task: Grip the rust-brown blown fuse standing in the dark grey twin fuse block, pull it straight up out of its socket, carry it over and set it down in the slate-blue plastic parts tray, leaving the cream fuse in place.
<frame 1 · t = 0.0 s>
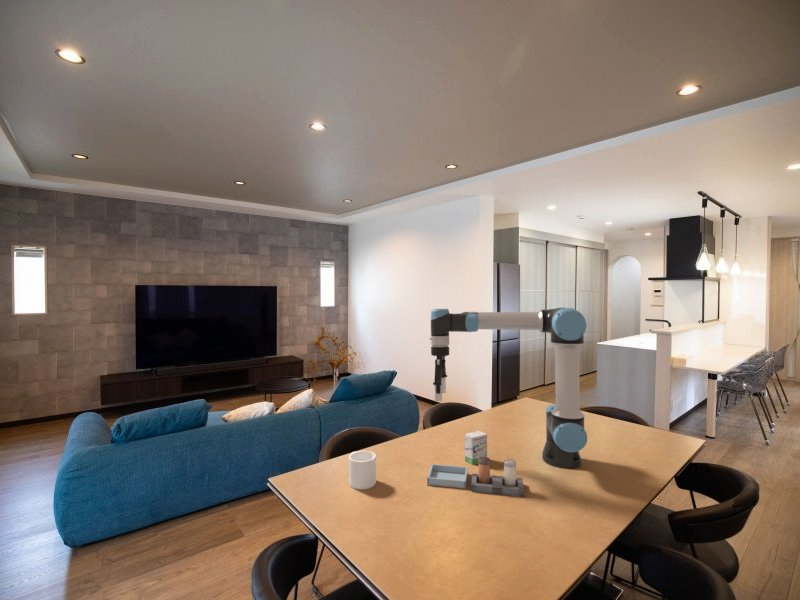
hand: (440, 396, 159), 28 cm above the table, fingers open, 13 cm apart
blown fuse: (484, 486, 139), resting on fuse block
mug: (360, 482, 144), on the table
parts tray: (448, 480, 145), on the table
ink box: (476, 462, 161), on the table
fuse block: (497, 488, 138), on the table
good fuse: (510, 489, 137), resting on fuse block
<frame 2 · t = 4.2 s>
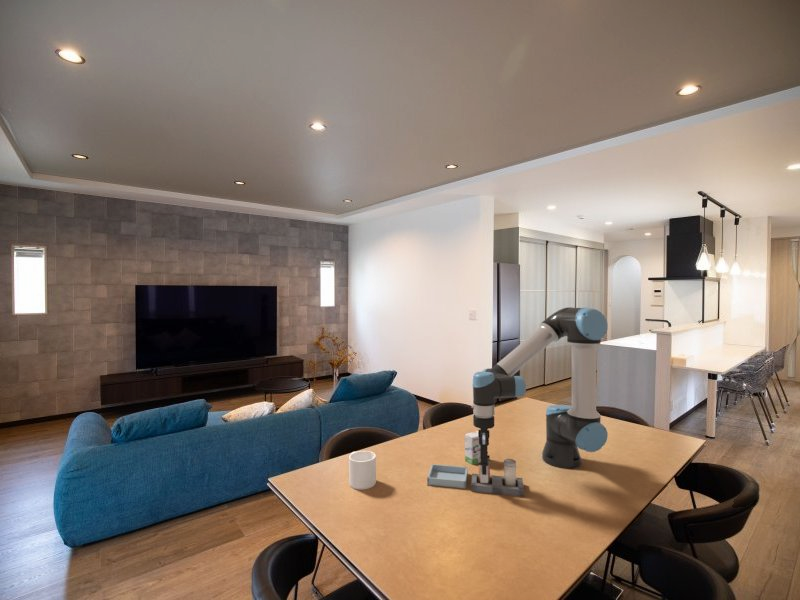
hand: (484, 479, 139), 3 cm above the table, fingers closed on blown fuse, 4 cm apart
blown fuse: (484, 486, 139), resting on fuse block, touching gripper
everything else where it was.
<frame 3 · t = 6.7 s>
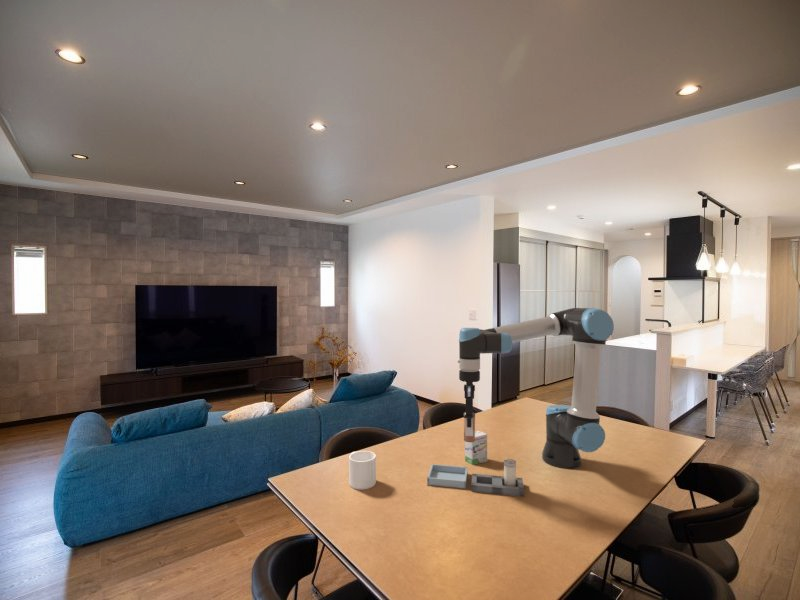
hand: (469, 433, 141), 19 cm above the table, fingers closed on blown fuse, 4 cm apart
blown fuse: (469, 440, 141), point 17 cm above the table, touching gripper
everything else where it was.
when the fingers open (5 cm above the table, at t = 9.6 s): blown fuse drops 1 cm, resting on parts tray.
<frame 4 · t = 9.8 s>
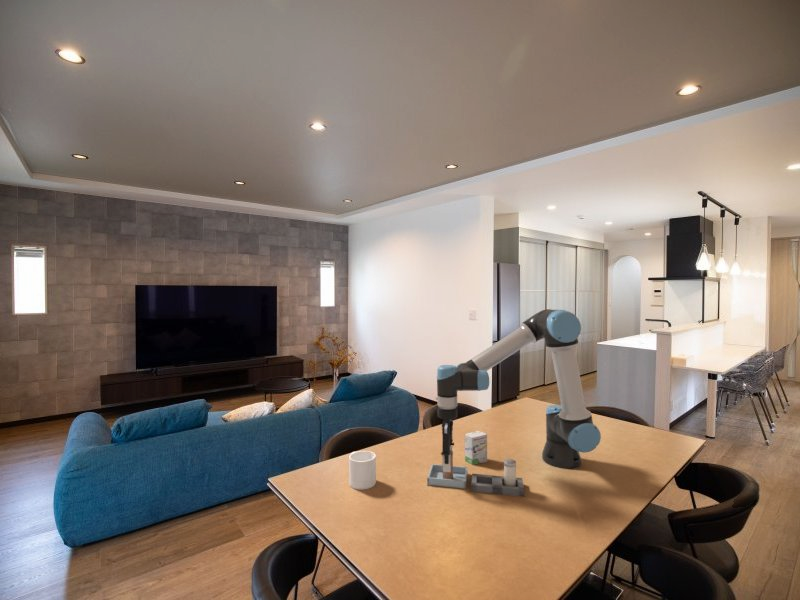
hand: (447, 466, 145), 5 cm above the table, fingers open, 7 cm apart
blown fuse: (448, 478, 145), point 1 cm above the table, touching parts tray
everything else where it was.
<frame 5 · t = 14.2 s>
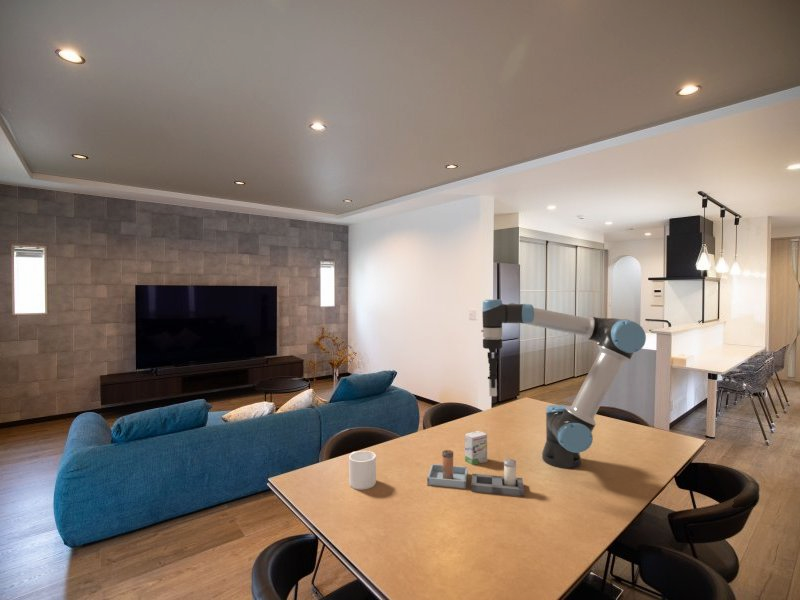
hand: (492, 391, 152), 32 cm above the table, fingers open, 13 cm apart
nothing on the table moved.
at the end: blown fuse inside the target area on the parts tray (0.0 cm from its centre), point 0.6 cm above the parts tray's base; blown fuse moved 13.8 cm from its start; the gripper is holding nothing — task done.
